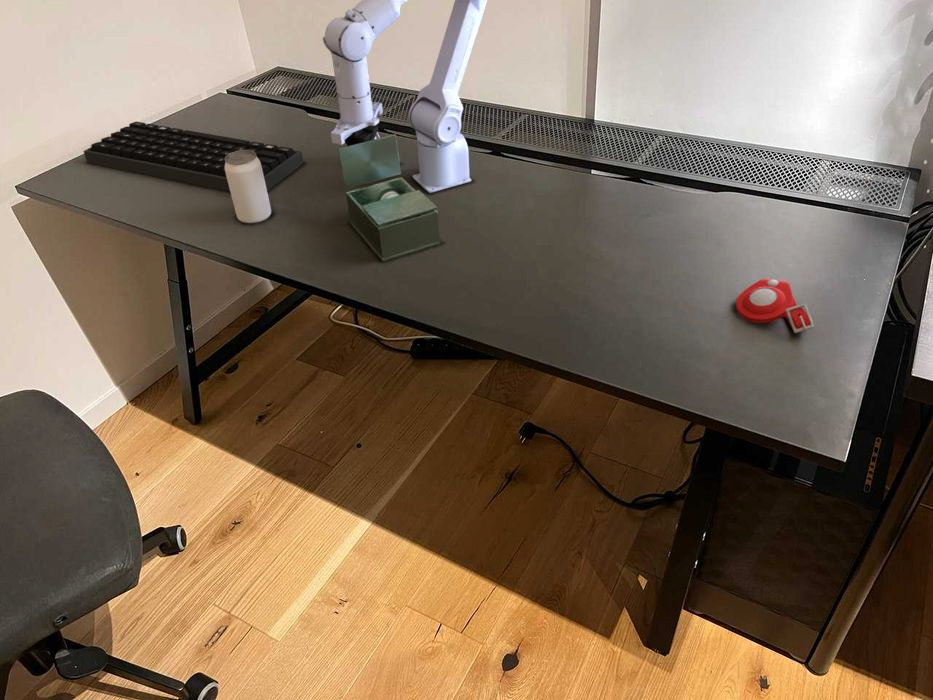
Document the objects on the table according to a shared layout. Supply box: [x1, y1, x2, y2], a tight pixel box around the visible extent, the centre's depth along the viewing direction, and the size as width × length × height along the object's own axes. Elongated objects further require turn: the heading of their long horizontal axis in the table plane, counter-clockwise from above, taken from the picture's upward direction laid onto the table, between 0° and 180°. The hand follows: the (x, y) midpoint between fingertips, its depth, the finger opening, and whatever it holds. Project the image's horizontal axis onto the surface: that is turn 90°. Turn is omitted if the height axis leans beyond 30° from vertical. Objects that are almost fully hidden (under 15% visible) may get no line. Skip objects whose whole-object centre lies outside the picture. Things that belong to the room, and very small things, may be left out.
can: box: [225, 150, 272, 224], centre depth 141 cm, size 6×6×12 cm
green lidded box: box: [345, 176, 441, 263], centre depth 135 cm, size 15×11×7 cm
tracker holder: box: [735, 278, 815, 334], centre depth 114 cm, size 12×4×10 cm
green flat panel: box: [337, 134, 402, 190], centre depth 136 cm, size 7×11×1 cm
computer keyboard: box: [83, 121, 304, 192], centre depth 162 cm, size 45×16×4 cm, turn 66°
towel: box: [380, 192, 413, 223], centre depth 139 cm, size 4×6×4 cm
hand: (363, 165), depth 140 cm, fingers closed
